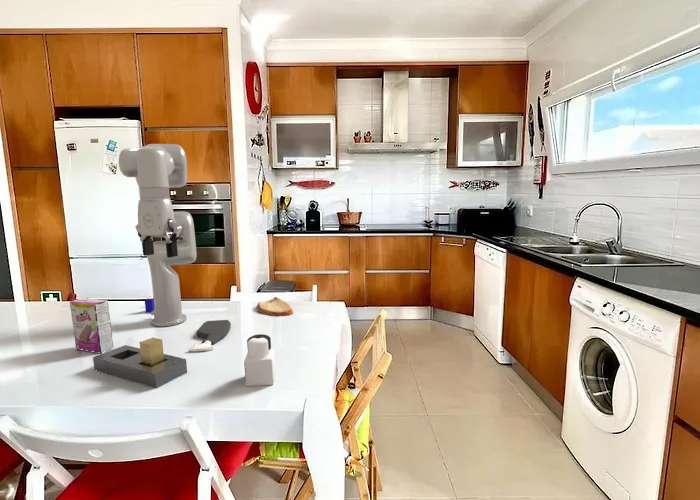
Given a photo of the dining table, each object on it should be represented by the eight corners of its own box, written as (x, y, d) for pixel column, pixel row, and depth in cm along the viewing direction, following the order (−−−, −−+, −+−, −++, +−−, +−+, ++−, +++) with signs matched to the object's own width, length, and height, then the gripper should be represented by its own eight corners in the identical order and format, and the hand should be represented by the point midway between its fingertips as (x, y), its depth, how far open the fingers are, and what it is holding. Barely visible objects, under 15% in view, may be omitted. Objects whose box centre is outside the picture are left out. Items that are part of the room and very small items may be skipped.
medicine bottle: (249, 374, 114) (247, 332, 112) (276, 373, 114) (273, 331, 113) (245, 387, 107) (242, 342, 105) (273, 385, 107) (271, 341, 106)
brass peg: (143, 376, 114) (139, 342, 113) (156, 371, 117) (152, 337, 116) (152, 379, 112) (149, 344, 111) (165, 373, 116) (162, 339, 114)
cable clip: (158, 305, 186) (157, 292, 185) (167, 305, 186) (166, 292, 185) (142, 313, 174) (141, 299, 174) (152, 313, 174) (151, 299, 173)
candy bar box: (74, 350, 134) (68, 301, 132) (89, 345, 139) (83, 297, 137) (100, 354, 131) (94, 303, 128) (114, 348, 135) (108, 299, 133)
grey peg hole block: (94, 370, 119) (92, 357, 118) (126, 357, 128) (125, 345, 127) (156, 388, 107) (154, 373, 107) (187, 372, 116) (186, 358, 115)
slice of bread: (291, 317, 165) (291, 308, 164) (247, 316, 167) (247, 307, 166) (301, 304, 182) (301, 296, 182) (262, 304, 185) (261, 295, 184)
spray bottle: (233, 326, 155) (219, 353, 131) (203, 328, 154) (183, 355, 130) (232, 319, 155) (218, 344, 131) (202, 320, 154) (183, 346, 130)
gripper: (121, 195, 115) (128, 256, 118) (164, 194, 107) (170, 259, 110) (145, 194, 122) (151, 252, 124) (188, 193, 114) (193, 255, 116)
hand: (160, 255), depth 117 cm, fingers open, 9 cm apart
